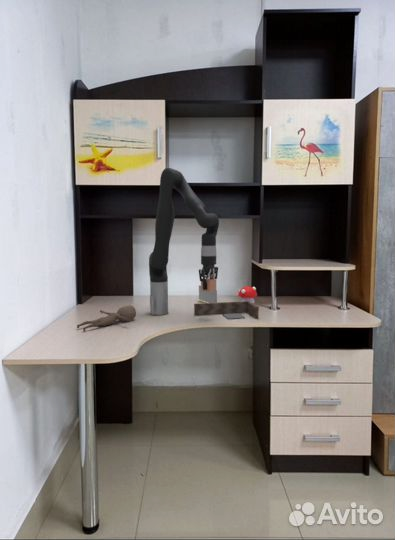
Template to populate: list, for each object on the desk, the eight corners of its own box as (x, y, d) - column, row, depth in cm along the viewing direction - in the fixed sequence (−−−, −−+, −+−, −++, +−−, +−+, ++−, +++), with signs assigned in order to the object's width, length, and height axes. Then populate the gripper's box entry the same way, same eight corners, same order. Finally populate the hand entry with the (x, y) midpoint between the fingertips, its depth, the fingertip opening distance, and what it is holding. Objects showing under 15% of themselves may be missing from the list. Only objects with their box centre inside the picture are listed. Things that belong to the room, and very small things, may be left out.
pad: (227, 319, 209) (227, 318, 209) (222, 315, 218) (222, 314, 218) (244, 318, 211) (244, 317, 211) (239, 314, 220) (239, 313, 220)
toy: (97, 343, 182) (151, 323, 202) (94, 326, 180) (149, 307, 201) (67, 332, 200) (120, 314, 221) (65, 316, 199) (118, 300, 219)
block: (210, 291, 204) (210, 280, 203) (200, 290, 207) (200, 279, 206) (216, 290, 208) (216, 279, 208) (207, 289, 212) (207, 278, 211)
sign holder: (197, 301, 253) (197, 285, 252) (200, 301, 254) (200, 285, 252) (215, 308, 235) (215, 290, 234) (218, 308, 236) (218, 290, 235)
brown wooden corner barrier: (200, 322, 204) (200, 310, 203) (194, 315, 219) (194, 303, 218) (258, 318, 210) (258, 306, 209) (248, 312, 225) (248, 301, 224)
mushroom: (235, 308, 233) (236, 287, 232) (239, 304, 244) (240, 284, 242) (255, 309, 230) (255, 288, 228) (258, 305, 240) (258, 284, 239)
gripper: (206, 256, 198) (206, 291, 200) (223, 254, 209) (222, 287, 211) (193, 255, 202) (193, 290, 204) (210, 253, 213) (210, 286, 216)
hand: (208, 288), depth 208 cm, fingers closed on block, 5 cm apart
